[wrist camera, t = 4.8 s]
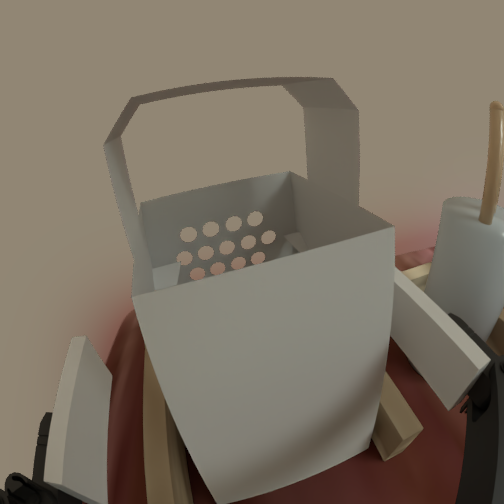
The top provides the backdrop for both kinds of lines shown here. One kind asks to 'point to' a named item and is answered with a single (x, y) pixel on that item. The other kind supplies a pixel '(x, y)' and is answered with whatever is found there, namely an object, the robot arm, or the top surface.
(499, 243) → the utensil crock
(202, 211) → the grater
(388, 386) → the rack
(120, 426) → the top surface
